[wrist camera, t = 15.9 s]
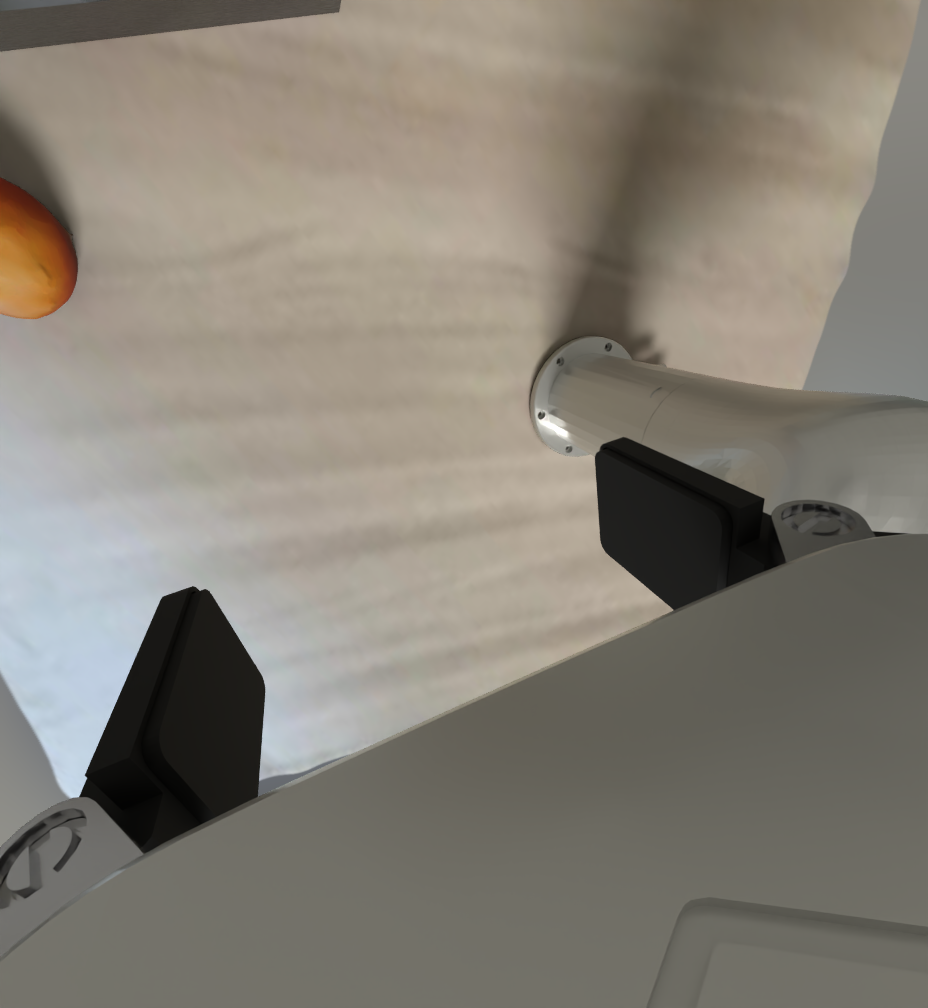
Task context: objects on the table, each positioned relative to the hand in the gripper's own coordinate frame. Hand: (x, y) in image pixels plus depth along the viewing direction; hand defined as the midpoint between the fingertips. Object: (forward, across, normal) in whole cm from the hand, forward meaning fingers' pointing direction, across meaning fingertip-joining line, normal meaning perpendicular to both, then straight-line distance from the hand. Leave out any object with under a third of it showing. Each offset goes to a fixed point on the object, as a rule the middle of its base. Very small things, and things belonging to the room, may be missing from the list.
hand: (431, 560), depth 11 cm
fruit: (+34, +17, -12) cm, 40 cm away
